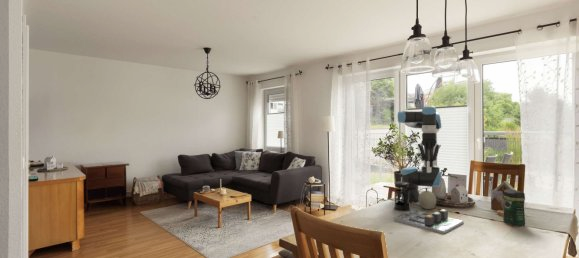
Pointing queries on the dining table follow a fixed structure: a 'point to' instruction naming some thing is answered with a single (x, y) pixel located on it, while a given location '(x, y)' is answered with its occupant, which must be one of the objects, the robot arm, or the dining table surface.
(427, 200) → the fruit
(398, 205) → the french press
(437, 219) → the breaker middle
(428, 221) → the orange and grey switch
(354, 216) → the dining table surface
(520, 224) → the coffee jar
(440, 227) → the panel
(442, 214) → the breaker back
